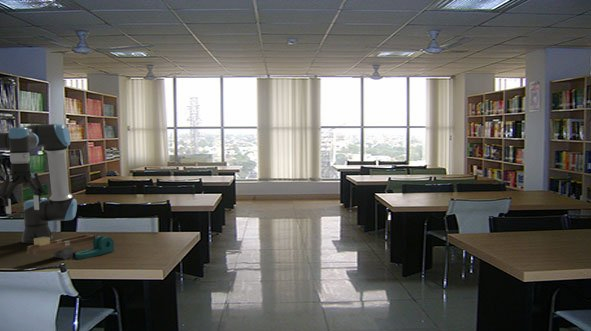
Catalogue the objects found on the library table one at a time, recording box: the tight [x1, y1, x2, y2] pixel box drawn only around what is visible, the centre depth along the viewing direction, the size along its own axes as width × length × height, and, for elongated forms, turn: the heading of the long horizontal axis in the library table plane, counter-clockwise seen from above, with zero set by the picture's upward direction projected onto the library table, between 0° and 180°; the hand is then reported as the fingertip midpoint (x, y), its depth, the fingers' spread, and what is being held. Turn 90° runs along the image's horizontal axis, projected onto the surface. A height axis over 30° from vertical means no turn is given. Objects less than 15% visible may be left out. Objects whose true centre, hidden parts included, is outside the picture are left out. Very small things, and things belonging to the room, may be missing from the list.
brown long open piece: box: [26, 233, 96, 260], centre depth 233 cm, size 9×30×8 cm, turn 149°
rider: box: [33, 236, 51, 247], centre depth 224 cm, size 4×5×5 cm
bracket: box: [74, 235, 115, 260], centre depth 237 cm, size 18×7×8 cm, turn 146°
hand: (23, 211), depth 216 cm, fingers open, 12 cm apart
